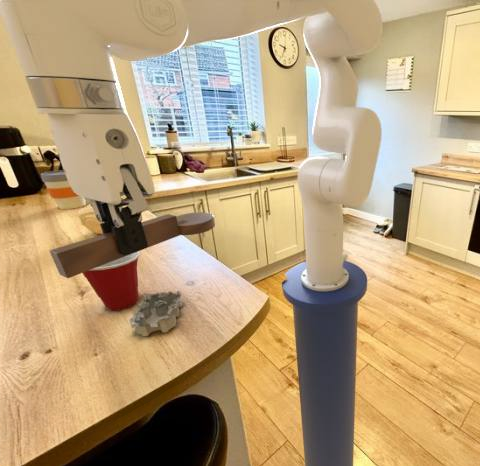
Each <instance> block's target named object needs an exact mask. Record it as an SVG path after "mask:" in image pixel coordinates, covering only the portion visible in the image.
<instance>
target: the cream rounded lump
mask: <svg viewBox="0 0 480 466" xmlns="http://www.w3.org/2000/svg"><path fill="white" fill-rule="evenodd" d="M77 212H78V213H77V217H78V219H79V220H80V223H81V225H82V226H84V227H85V228H86V229H87V230H88V231H89V232H91V233H93V234H96V235H102V234H103V232H102V229H101V226H100V224H101V223H100V222H99V221H98V220H97V218H96V216H95V213H94V210H93V207H92V206H91V205H90V203H89V204H88V205H85V206H83V207H82V208H79V209H78V211H77ZM102 223H104V222H102Z"/></svg>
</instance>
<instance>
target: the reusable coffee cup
mask: <svg viewBox="0 0 480 466" xmlns="http://www.w3.org/2000/svg"><path fill="white" fill-rule="evenodd" d="M40 178H41V181H42V182H43V183H44V185H45V186H46V187H45V189H46V190H47V192H48V193H49V196H50V197H51V198H52V199H53V200H54V202H55V203H56V205H57V207H58V208H59V209H60V210H72V209H77V208H81V207H82V208H83V207H85V206H87V201H86V200H85V199H84V197H82V196H79V195H77V194H76V193H74V191H73V190H72V188H71V186H70V184H69V182H68V180H67V177H66V175H65V172H64V169H60V170H51V171H46V172H42V173H40Z"/></svg>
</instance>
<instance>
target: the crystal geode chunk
mask: <svg viewBox="0 0 480 466" xmlns="http://www.w3.org/2000/svg"><path fill="white" fill-rule="evenodd" d="M181 298H182V294H181V291H180V290H178V291H177V292H172V291H171V290H169V291H168V292H165V291H163V292H156V293H145V294H144V296H143V298H142V300H141V302H139V305H137V308H136V310H135V311H134V313H133V315H132V316H131V317H130V318H129V323H130V326H131V328H132V329H135V332H136V334H138V335H141V336H142V337H148V336H149V335H150V334H151V333H153V332H156V331H161V332H162V333H168V332H169V331H170V330H171V329H173V328H175V327H176V326H177V319H176V318H178V317H180V308H182V307H183V302H182V301H181Z"/></svg>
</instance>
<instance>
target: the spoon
mask: <svg viewBox="0 0 480 466" xmlns="http://www.w3.org/2000/svg"><path fill="white" fill-rule="evenodd" d="M141 223H142V226H143V230H144V233H145V237H146V240H147V243H148V247H147V248H145V249H142V250H141V251H143V250H146V249H149V248H151V247H154V246H155V245H159V244H161V243H164V242H167V241H169V240H171V239H174V238H177V237H179V236H194V235H200V234H203V233H206V232H209V231H211V230H212V229H214V228H215V227H216V221H215V216H214V215H213V213H210V212H203V211H202V212H201V211H197V212H189V213H184V214H180V215H175V214H171V213H167V214H164V215H161V216H157V217H154V218H151V219H148V220H144V221H141ZM137 252H138V251H137ZM49 254H50V256H51V258H52V261H53V263H54V265H55V267H56V269H57V271H58V273H59V275H60V276H62V277H64V278H66V279H70V278H72V277H75V276H79V275H81V274H83V272H86V271H88V270H91V269H94V268H96V267H99V266H101V265H104V264H107V263H109V262H112V261H114V260H117V259H120V258H122V257H125V256H124V255H121V254H120V251H119V248H118V245H117V242H116V239H115V236H114V233H113V231H111V232H108V233H105V234H97V235H96V236H92V237H88V238H85V239H82V240H79V241H76V242H73V243H70V244H66V245H63V246H60V247H56V248H53V249H50V250H49ZM132 254H133V253H132ZM129 255H130V254H129Z"/></svg>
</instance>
